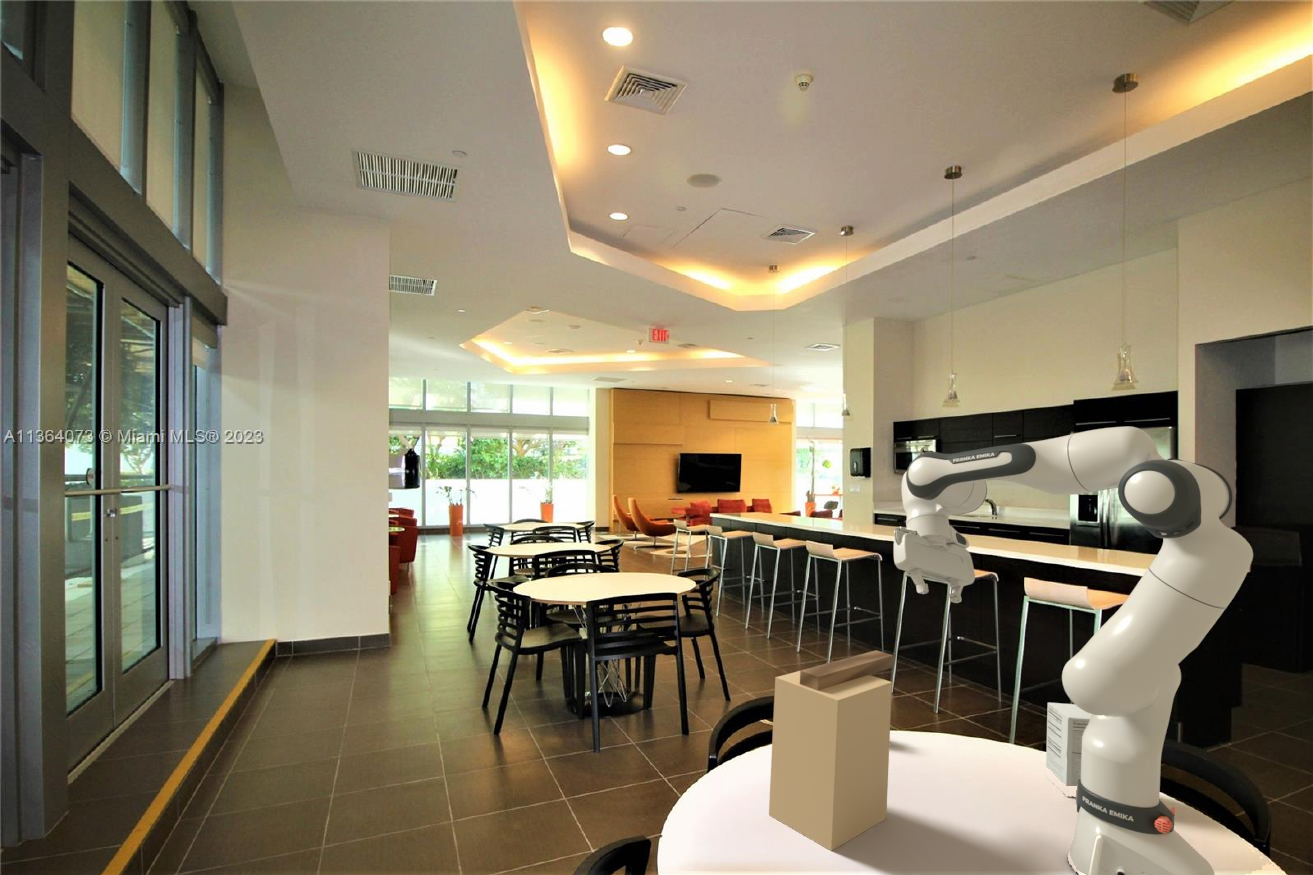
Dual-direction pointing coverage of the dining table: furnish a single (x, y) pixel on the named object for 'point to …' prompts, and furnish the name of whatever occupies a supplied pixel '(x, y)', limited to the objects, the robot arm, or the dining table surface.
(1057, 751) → the supplement box
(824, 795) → the carton
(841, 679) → the slat
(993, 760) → the dining table surface
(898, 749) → the dining table surface
